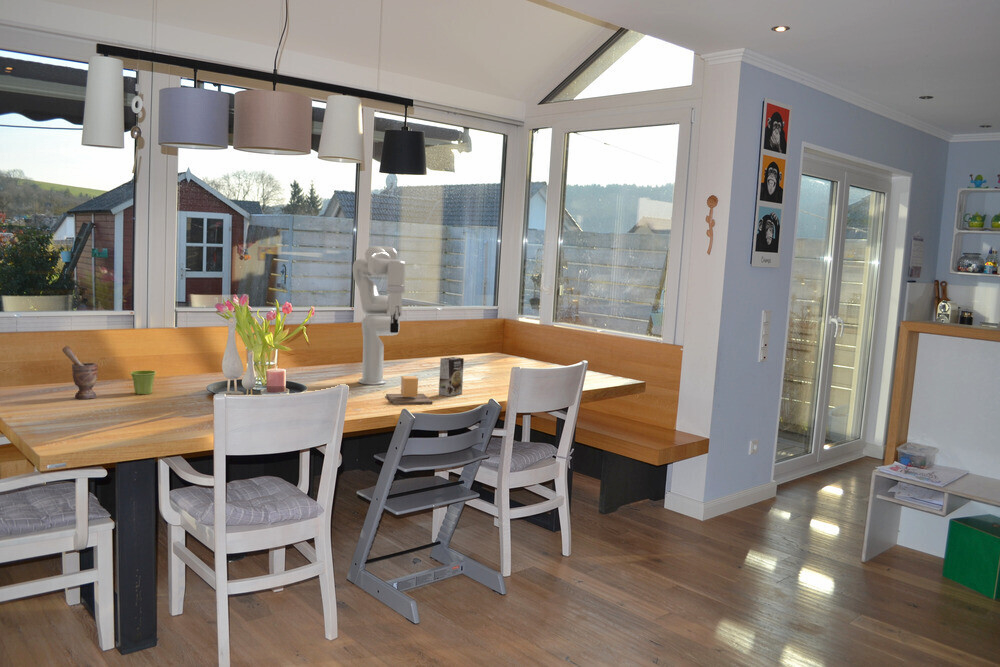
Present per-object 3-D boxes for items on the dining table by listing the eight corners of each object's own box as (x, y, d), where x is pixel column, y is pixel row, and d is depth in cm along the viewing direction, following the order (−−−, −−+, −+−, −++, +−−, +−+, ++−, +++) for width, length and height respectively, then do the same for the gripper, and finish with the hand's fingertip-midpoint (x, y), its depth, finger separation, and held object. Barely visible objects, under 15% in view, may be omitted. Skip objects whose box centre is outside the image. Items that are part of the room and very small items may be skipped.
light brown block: (400, 394, 323) (401, 376, 322) (414, 394, 325) (415, 376, 324) (403, 396, 318) (404, 378, 317) (417, 396, 319) (417, 378, 319)
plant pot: (137, 396, 302) (137, 374, 301) (125, 393, 308) (125, 371, 307) (160, 393, 310) (160, 372, 309) (148, 390, 315) (148, 369, 315)
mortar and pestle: (64, 401, 288) (63, 348, 286) (62, 396, 295) (61, 345, 293) (99, 399, 295) (98, 347, 292) (96, 395, 302) (95, 344, 300)
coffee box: (449, 396, 334) (450, 359, 332) (438, 394, 338) (439, 358, 336) (462, 394, 341) (464, 358, 339) (451, 391, 345) (453, 356, 343)
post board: (386, 396, 327) (386, 375, 326) (423, 395, 332) (423, 375, 331) (393, 404, 310) (394, 382, 309) (432, 404, 315) (433, 382, 314)
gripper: (383, 288, 332) (382, 330, 334) (389, 290, 318) (388, 334, 320) (401, 288, 335) (399, 330, 337) (407, 290, 320) (406, 334, 322)
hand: (394, 332), depth 328 cm, fingers closed
